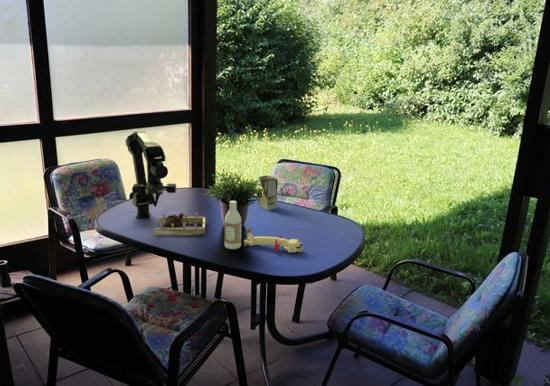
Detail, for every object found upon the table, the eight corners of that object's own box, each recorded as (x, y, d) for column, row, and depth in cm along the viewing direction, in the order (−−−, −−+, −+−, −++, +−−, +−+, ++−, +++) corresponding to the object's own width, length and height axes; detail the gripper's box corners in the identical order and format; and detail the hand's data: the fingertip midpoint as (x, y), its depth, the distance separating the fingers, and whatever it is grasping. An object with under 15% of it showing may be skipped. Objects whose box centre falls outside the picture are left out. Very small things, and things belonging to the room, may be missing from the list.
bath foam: (221, 248, 205) (221, 203, 199) (228, 242, 211) (228, 198, 205) (237, 250, 203) (237, 205, 197) (243, 244, 209) (243, 200, 204)
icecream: (171, 222, 214) (190, 215, 227) (158, 215, 216) (177, 208, 230) (168, 236, 216) (186, 228, 230) (154, 229, 218) (174, 222, 232)
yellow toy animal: (242, 251, 206) (299, 256, 199) (241, 231, 204) (299, 235, 196) (250, 242, 215) (305, 246, 208) (249, 224, 213) (305, 227, 205)
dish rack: (158, 223, 230) (157, 213, 229) (205, 222, 233) (205, 212, 231) (154, 235, 216) (154, 224, 214) (204, 234, 219) (204, 224, 217)
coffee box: (277, 208, 255) (278, 179, 251) (267, 210, 252) (268, 180, 247) (267, 203, 262) (267, 175, 258) (257, 205, 259) (257, 176, 254)
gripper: (129, 178, 206) (131, 212, 211) (174, 177, 209) (175, 212, 213) (133, 171, 217) (135, 204, 222) (175, 171, 219) (176, 204, 224)
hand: (155, 206), depth 220 cm, fingers closed
